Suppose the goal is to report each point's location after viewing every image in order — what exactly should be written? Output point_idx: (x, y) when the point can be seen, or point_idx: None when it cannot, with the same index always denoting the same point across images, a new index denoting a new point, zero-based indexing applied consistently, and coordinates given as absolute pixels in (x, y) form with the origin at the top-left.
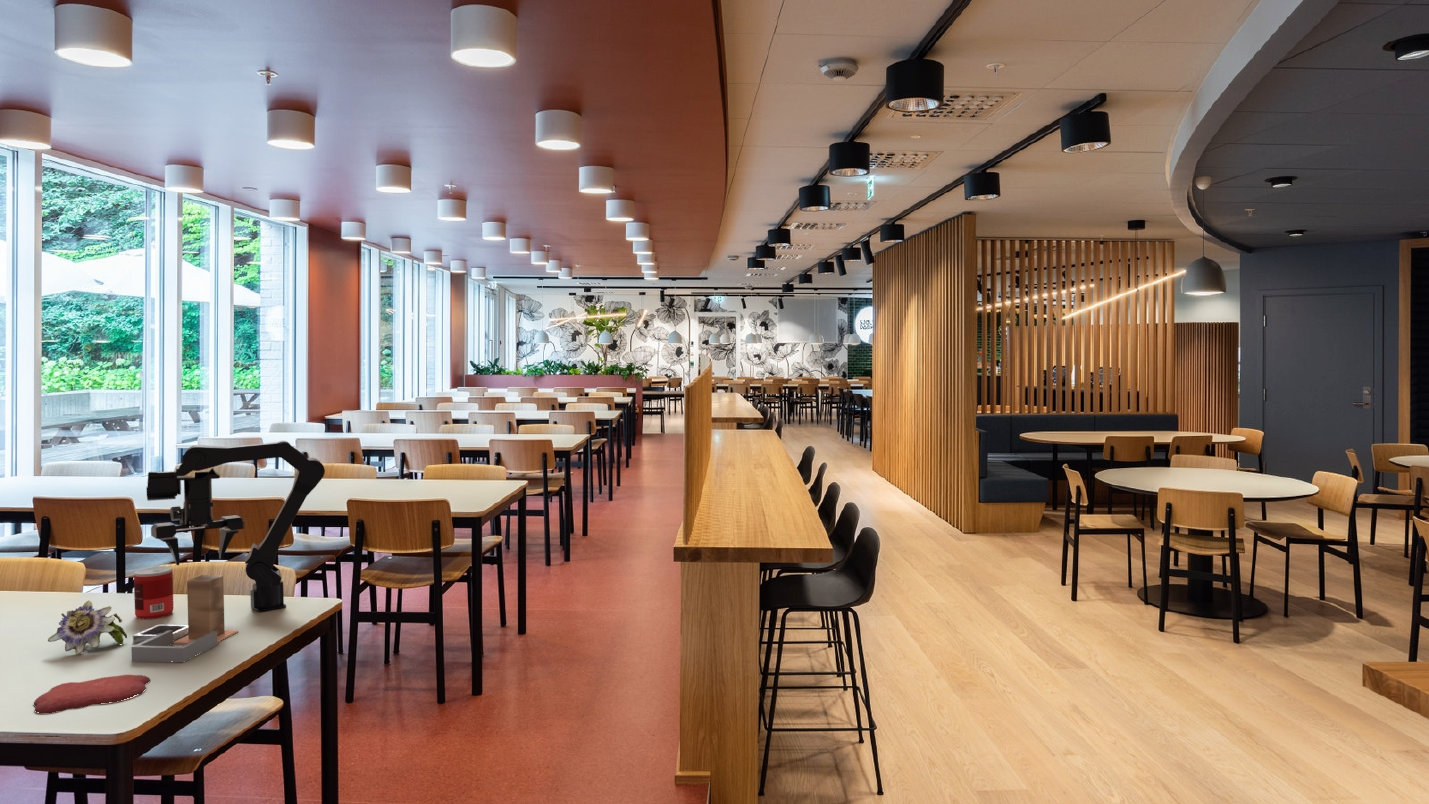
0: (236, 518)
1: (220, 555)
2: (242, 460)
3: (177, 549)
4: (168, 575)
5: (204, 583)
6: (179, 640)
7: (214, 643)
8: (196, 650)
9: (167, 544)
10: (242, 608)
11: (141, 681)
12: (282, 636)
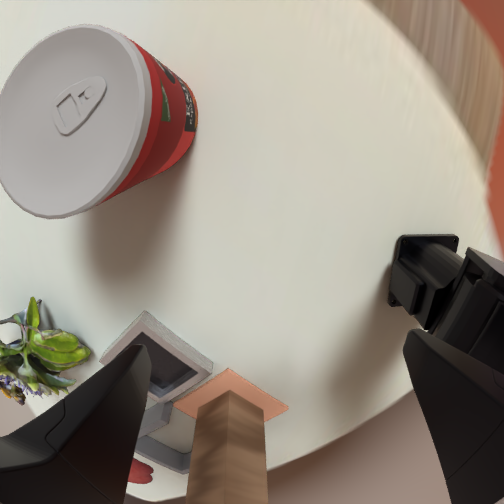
0: None
1: (412, 370)
2: None
3: (120, 482)
4: (126, 182)
5: None
6: (182, 404)
7: None
8: None
9: (19, 440)
10: (380, 228)
11: (146, 475)
12: (329, 441)
